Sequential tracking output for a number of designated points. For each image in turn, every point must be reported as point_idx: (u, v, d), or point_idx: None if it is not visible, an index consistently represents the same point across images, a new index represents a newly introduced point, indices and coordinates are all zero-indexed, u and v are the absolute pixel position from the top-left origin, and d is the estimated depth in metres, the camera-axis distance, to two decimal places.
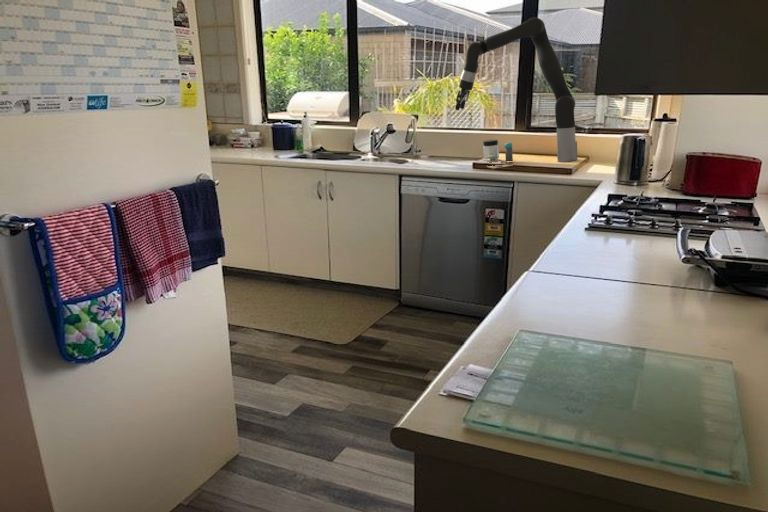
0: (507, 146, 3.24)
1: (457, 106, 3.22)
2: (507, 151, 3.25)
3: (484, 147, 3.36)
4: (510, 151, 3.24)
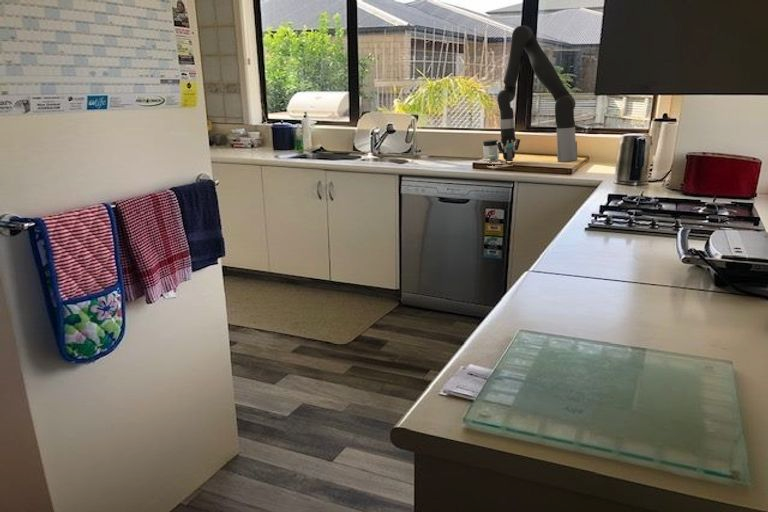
0: None
1: (503, 156, 3.26)
2: (507, 151, 3.25)
3: (484, 147, 3.36)
4: (510, 151, 3.24)
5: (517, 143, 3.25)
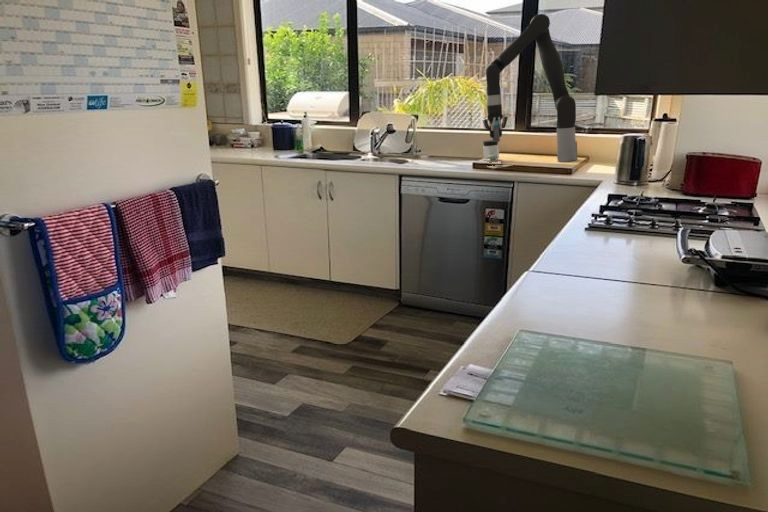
0: (494, 124, 3.10)
1: (490, 134, 3.12)
2: (494, 129, 3.11)
3: (484, 147, 3.36)
4: (497, 129, 3.11)
5: (504, 121, 3.11)
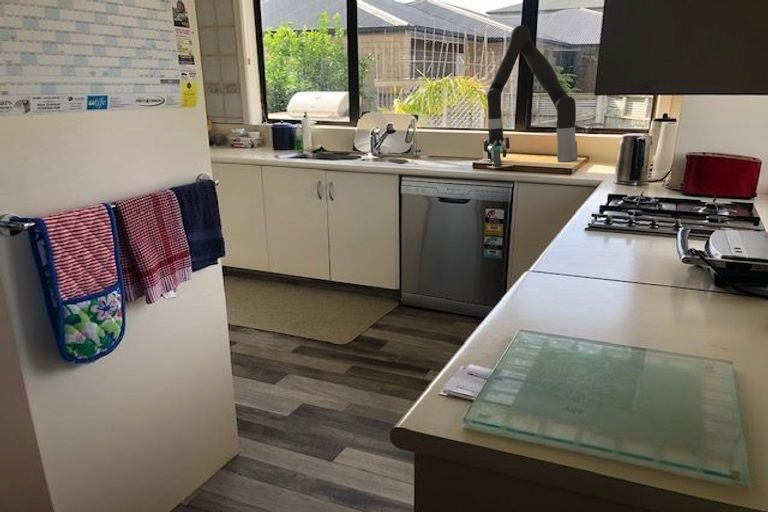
0: (495, 149, 3.14)
1: (488, 155, 3.15)
2: (495, 154, 3.15)
3: None
4: (498, 154, 3.14)
5: (507, 142, 3.15)
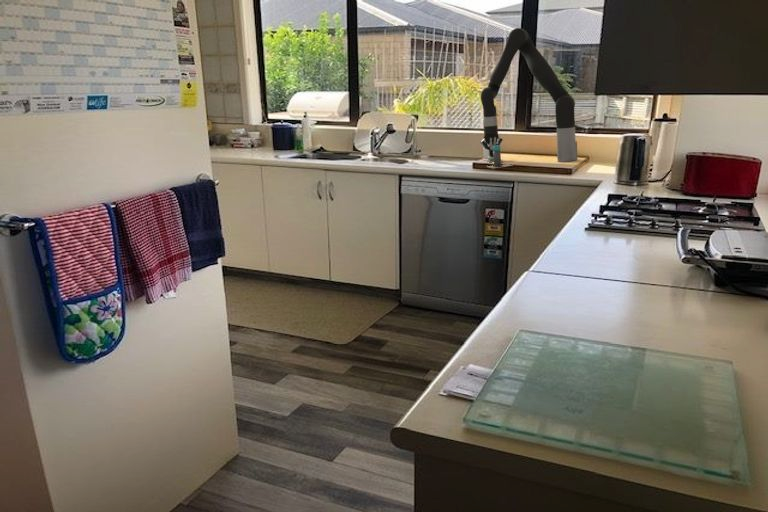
0: (495, 149, 3.14)
1: (489, 153, 3.27)
2: (495, 154, 3.15)
3: (484, 147, 3.36)
4: (498, 154, 3.14)
5: (499, 142, 3.25)
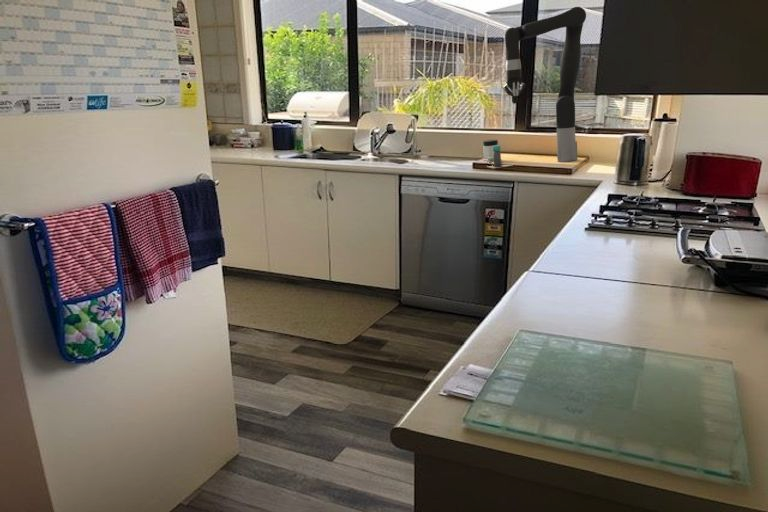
0: (495, 149, 3.14)
1: (512, 99, 3.09)
2: (495, 154, 3.15)
3: (484, 147, 3.36)
4: (498, 154, 3.14)
5: (522, 87, 3.08)
